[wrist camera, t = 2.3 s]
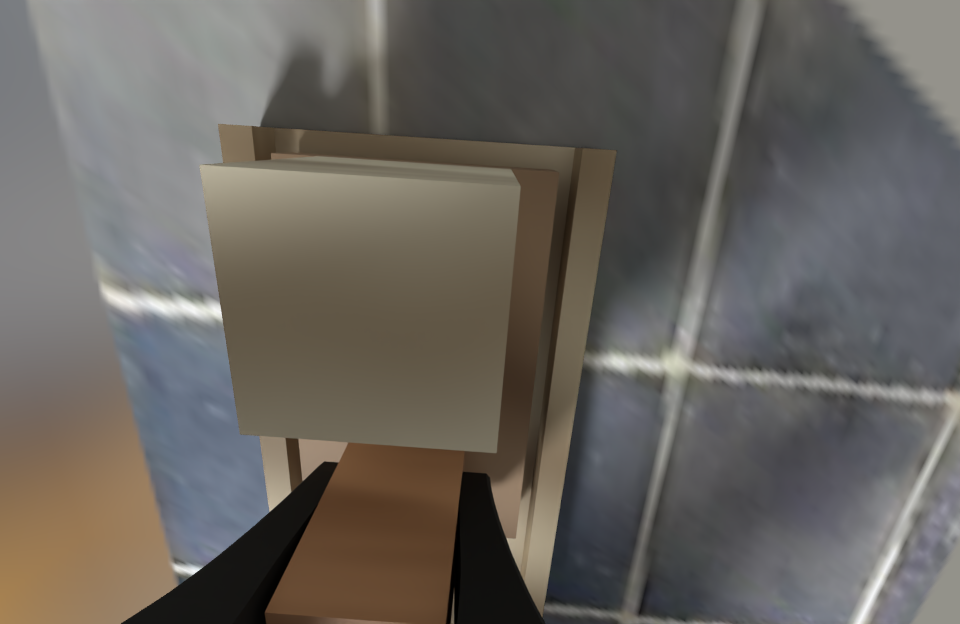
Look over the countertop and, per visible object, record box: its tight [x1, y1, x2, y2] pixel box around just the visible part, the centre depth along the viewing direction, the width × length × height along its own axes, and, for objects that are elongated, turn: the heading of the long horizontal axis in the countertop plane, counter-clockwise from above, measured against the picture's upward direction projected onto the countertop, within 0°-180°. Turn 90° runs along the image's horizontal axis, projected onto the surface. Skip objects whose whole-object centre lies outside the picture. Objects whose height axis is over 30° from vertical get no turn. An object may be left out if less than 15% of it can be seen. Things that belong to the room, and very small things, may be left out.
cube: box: [200, 156, 521, 453], centre depth 8 cm, size 4×4×4 cm
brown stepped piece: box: [265, 152, 559, 624], centre depth 9 cm, size 10×6×6 cm, turn 177°
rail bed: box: [218, 124, 617, 624], centre depth 13 cm, size 17×8×2 cm, turn 177°
